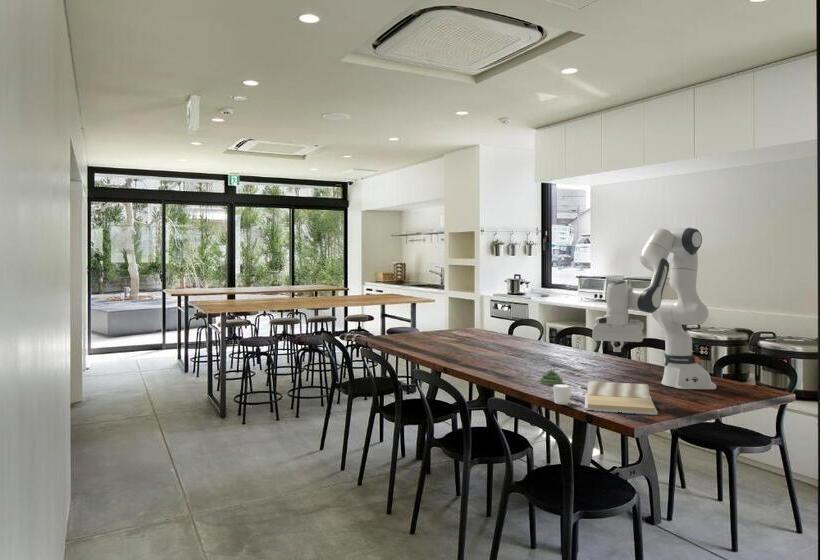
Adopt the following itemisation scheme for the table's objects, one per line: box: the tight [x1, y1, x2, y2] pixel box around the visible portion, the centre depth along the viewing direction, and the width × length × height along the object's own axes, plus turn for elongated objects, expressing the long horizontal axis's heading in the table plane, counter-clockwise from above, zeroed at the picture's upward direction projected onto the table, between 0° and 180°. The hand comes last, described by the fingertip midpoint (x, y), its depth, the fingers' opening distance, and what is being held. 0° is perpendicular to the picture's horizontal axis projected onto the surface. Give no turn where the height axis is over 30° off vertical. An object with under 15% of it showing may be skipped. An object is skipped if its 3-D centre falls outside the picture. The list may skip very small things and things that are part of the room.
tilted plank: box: [586, 381, 651, 399], centre depth 238 cm, size 24×9×2 cm, turn 73°
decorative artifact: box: [539, 368, 563, 387], centre depth 270 cm, size 10×7×10 cm
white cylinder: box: [552, 383, 571, 405], centre depth 235 cm, size 7×7×7 cm
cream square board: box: [584, 392, 659, 416], centre depth 231 cm, size 26×26×2 cm
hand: (617, 351), depth 243 cm, fingers closed
